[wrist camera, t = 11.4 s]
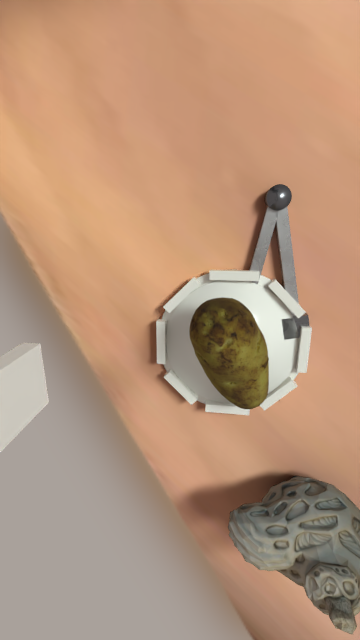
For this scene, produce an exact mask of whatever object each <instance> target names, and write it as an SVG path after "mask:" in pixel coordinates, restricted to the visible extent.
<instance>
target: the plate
mask: <svg viewBox="0 0 360 640" xmlns="http://www.w3.org/2000/svg"><path fill="white" fill-rule="evenodd" d="M248 281H259V282H258V284H255V283H252V282H248ZM222 297H224V298H233V299H236V300H238V301H240V302H241V303H242V304H244V305H245V306H246V307H247V308H248V309H249V310H250V312H251V313H252V315H253V317H254V319H255V321H256V323H257V325H258V327H259V329H260V330H261V332H262V334H263V335H264V338H265V341H266V345H267V350H268V358H269V361H268V363H269V387H268V395H267V397H266V399H265V400H264V402H263V403H262V404H261V405H260V406H261V407H262V408H263V409H264V410H266V409H267V408H269V407H270V406H271V405H273V404H274V403H275V402H277V401H278V400H279V399H281V398H282V397H284V396H285V395H286V394H288V393H289V392H290V391H292V390H293V389H294V388H296V387H297V384H296V382H295V381H294V379H295V377H296V376H297V375H298V373H299V372H302V373H307V364H308V356H309V348H310V340H311V332H312V328H311V327H310V326H309V327H308V326H301V330H300V338H298V337H297V336H298V334H297V333H298V332H297V333H294V332H295V331H297V330H294V329H291V328H293V327H295V326H294V325H296V324H294V323H295V322H293V321H294V318H293V316H292V314H291V312H290V311H289V309H290V310H291V311H292V312H293V313H294V314H295V315H296V316H297V318H300V317H301V316H302V315H303V314H305V313H306V312H305V311H304V310H303V309H302V307H301V306H300V305H299V304H298V303H297V302H296V301H295V300H294V299H293V298H292V297H291V296H290V294H289V293H288V292H287V291H286V290H285V289H284V288H283V287H282V286H281V285H280V284H279V283H278V281H277V280H276V279H275V278H274V279H273V280H271V279H269V278H267V277H265V276H263V275H260V278H259V271H250V270H237V269H227V270H210V273H207V274H204V275H202V276H200V277H198V278H196V277H195V276H194V277H193V278H192V279H191V280H190V281H189V282H188V283H187V284H186V285H185V286H184V287H183V288H182V289H181V290H180V291H179V292H178V293H177V294H176V295H175V296H173V297H172V298H171V299H170V300H169V301H168V302H167V303H166V304H165V305H164V306H163V308H164V309H165V312H164V314H163V317H162V319H158V320H157V321H156V335H157V364H164V367H165V369H166V371H167V373H165V375H164V378H165V379H166V380H167V381H168V382H169V383H170V384H171V385H172V386H173V387H174V388H175V389H176V390H177V391H178V392H179V393H180V394H181V395H182V396H183V397H184V398H185V399H186V400H187V401H188V402H189V403H190V404H191V405H192V404H193V403H194V402H195V401H199V402H201V403H204V404H206V409H205V412H215V413H228V414H240V415H249V411H250V409H242V408H239V407H237V406H235V405H234V404H232V403H231V402H229V401H228V400H227V399H226V398H225V397H223V396H222V395H221V394H220V393H219V392H218V390H217V389H216V388H215V387H214V386H213V384H212V383H211V381H210V380H209V378H208V377H207V375H206V374H205V372H204V370H203V368H202V366H201V364H200V362H199V360H198V358H197V357H196V355H195V351H194V348H193V345H192V343H191V340H190V334H189V329H190V323H191V319H192V317H193V315H194V313H195V310H196V309H197V308H198V307H199V306H200V305H201V304H202V303H204V302H205V301H207V300H210V299H214V298H222ZM287 307H288V308H289V309H288V308H287ZM288 318H291V319H293V320H292V324H293V325H292V324H290V325H289V326H293V327H290V328H289V326H288V327H287V324H288V323H290V322H289V321H288V320H285V319H288ZM282 320H284V321H287V323H286V322H283V323H285V326H286V329H284V328H285V326H284V324H283V323H282ZM289 320H290V319H289ZM290 321H291V320H290ZM282 324H283V325H282ZM282 326H284V327H282ZM287 328H288V330H289V329H290V330H291V331H290V330H289V331H290V332H292V334H293V333H294V334H293V335H292V336H293V337H292V336H291V335H288V334H289V333H288V332H289V331H288V330H287ZM296 329H297V327H296ZM284 330H286V331H285V332H283V331H284ZM293 331H294V332H293ZM283 333H284V334H283ZM294 335H295V336H294ZM284 336H290V338H291V339H288V338H289V337H288V338H287V337H286V338H285V337H284ZM296 337H297V338H296ZM284 338H285V339H286V340H284ZM292 338H293V339H292Z"/></svg>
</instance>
